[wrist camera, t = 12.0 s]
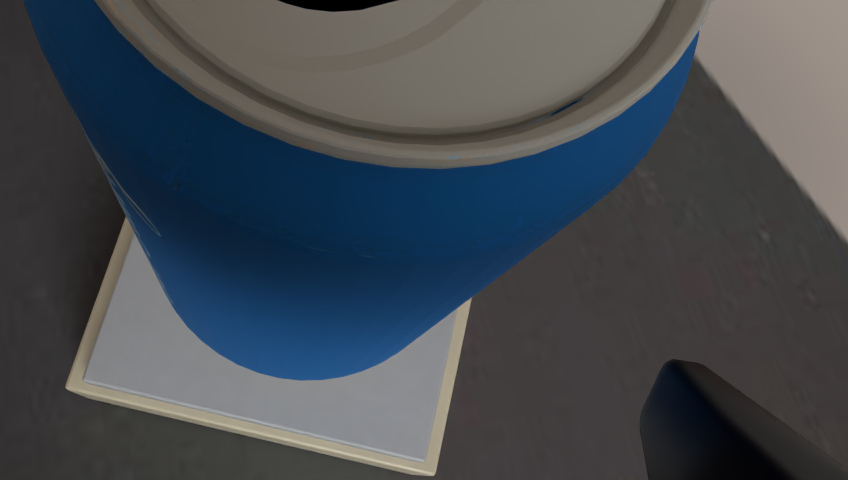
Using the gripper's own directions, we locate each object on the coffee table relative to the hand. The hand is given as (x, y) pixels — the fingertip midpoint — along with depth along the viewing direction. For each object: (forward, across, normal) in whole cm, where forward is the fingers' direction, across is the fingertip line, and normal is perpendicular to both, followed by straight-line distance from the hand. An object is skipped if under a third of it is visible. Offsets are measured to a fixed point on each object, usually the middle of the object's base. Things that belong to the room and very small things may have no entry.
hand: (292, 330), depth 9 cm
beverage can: (+8, 0, +3) cm, 9 cm away
